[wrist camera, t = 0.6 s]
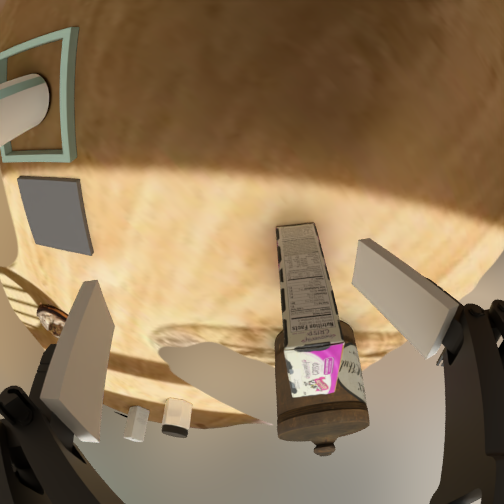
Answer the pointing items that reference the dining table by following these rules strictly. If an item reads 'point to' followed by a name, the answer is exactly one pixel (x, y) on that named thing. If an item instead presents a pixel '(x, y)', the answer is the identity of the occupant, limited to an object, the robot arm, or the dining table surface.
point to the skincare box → (136, 424)
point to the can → (22, 105)
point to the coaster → (56, 213)
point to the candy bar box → (308, 312)
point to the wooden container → (322, 402)
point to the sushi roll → (52, 319)
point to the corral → (65, 98)
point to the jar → (176, 417)
